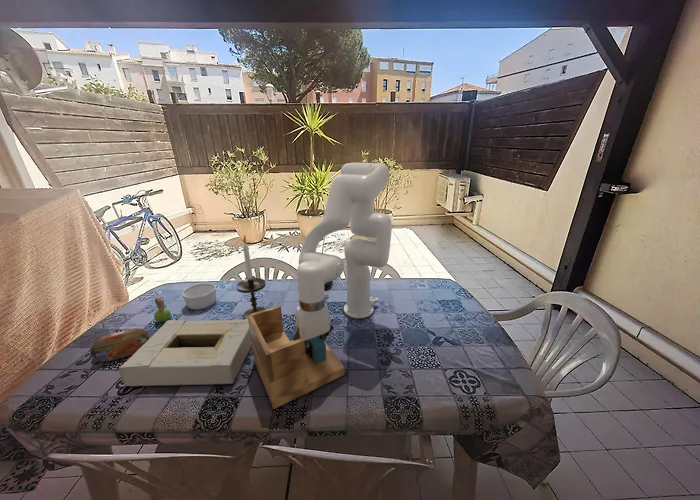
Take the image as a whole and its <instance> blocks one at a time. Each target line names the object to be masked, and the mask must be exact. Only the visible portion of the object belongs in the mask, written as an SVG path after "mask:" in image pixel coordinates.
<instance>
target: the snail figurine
mask: <svg viewBox="0 0 700 500" xmlns="http://www.w3.org/2000/svg"><path fill="white" fill-rule="evenodd" d="M163 298H164V296H161V297H155V298H154V303H155V305H156V308H157V310H156V311H155V312H154V314H153V318H154V320H155V321H156V322H158V323H166V321H168V320H170V318H171V311H170V310H169V309H168V308H165V307H166V306H165V300H164V299H163Z"/></svg>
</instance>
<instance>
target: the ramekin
mask: <svg viewBox="0 0 700 500" xmlns="http://www.w3.org/2000/svg"><path fill="white" fill-rule="evenodd" d="M181 297H182V298H183V300H184V302H185V305H186V307H187V308H188V309H190V310H195V311H198V310H204V309H207V308H209V307H211V306H213V305H214V303H216V300H217V287H216V285H215V284H214V283H210V282H201V283H196V284H192V285H190V286H188V287H186V288H185V289H184V290H183V291H182V292H181Z"/></svg>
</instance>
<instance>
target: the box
mask: <svg viewBox="0 0 700 500" xmlns="http://www.w3.org/2000/svg"><path fill="white" fill-rule="evenodd" d="M251 347H252V342H251V335H250V329H249V323H248V319H244V318H242V319H239V318H237V319H211V320H210V319H209V320H208V319H205V320H186V319H183V320H181V319H168V320H167V321H165V322H164V324H163V325H162V326H161V327H159V328H158V330H156V332H154V334H153V335H151V337H149V340H148V341H147V342H146V343H145V344H144V345H143V346H142V347H141V348H140V349H139V350H138V351H137V352H136V353H135V354H133V355H131V356H130V357H129V358H128V359H127V360H126V361H125V362H124V363H123V364H122V365H121V366H119V368H118V373H119V376H120V379H121V381H122V383H123V385H124V386H125V387H148V386H149V387H150V386H187V385H189V386H191V385H193V386H195V385H198V386H199V385H231V384H234V383H235V380H236V379H237V377H238V374H239V372H240V371H241V368H242V366H243V364H244V362H245V359H246V358H247V356H248V353H249V352H250V349H251Z"/></svg>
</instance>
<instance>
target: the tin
mask: <svg viewBox="0 0 700 500" xmlns="http://www.w3.org/2000/svg"><path fill="white" fill-rule="evenodd" d="M149 339H150V335H149V333H148V332H147V331H146V330H144V329H142V328H130V329H127V330H122V331H118V332H113V333H110V334H106V335H103V336H101V337H99V338H97V340H96V341H95V342H94V343H93V344H92V345H91V347H90V350H89V353H90V355H91V357H92V358H93V359H94V360H97V361H99V362H111V361H114V360H118V359H122V358H125V357H129V356H133V355H134V354H135V353H136V352H137V351H138V350H139V349H140V348H141V347H142V346H143V345H144V344H145V343H146V342H147V341H148V340H149Z"/></svg>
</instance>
